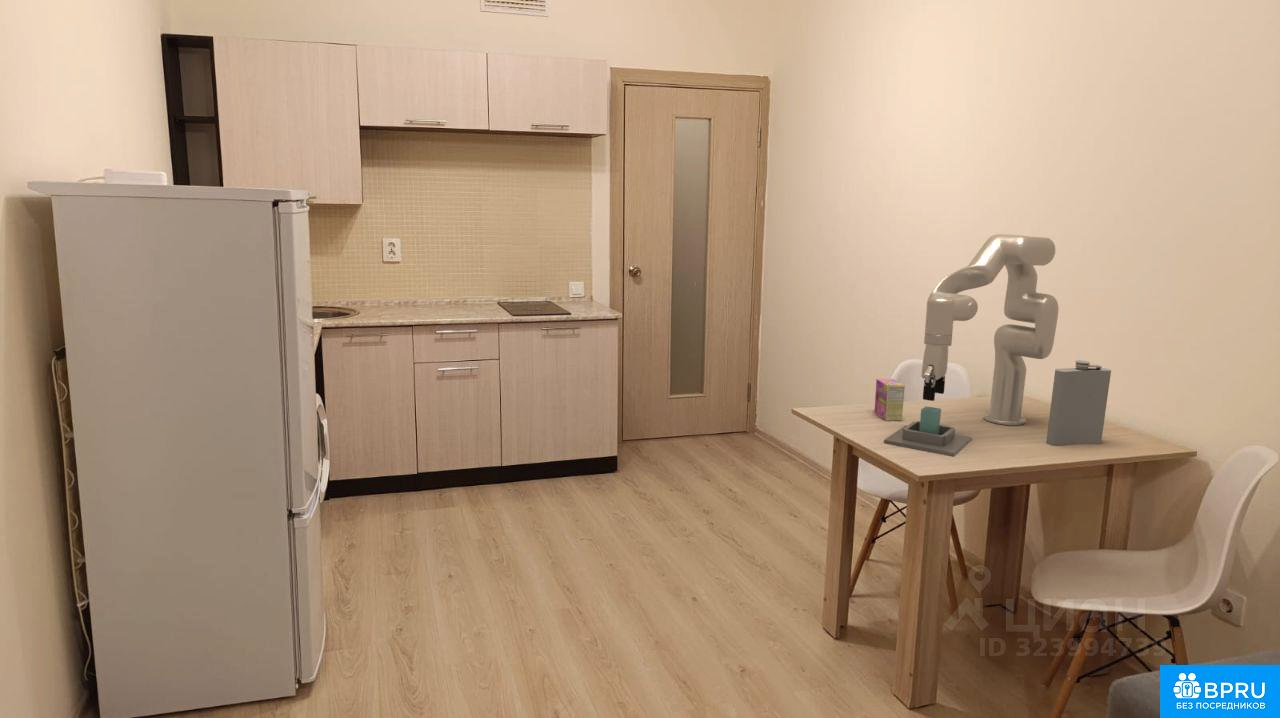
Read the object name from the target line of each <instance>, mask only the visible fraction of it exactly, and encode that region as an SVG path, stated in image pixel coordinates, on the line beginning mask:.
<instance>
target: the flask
mask: <svg viewBox="0 0 1280 718" xmlns="http://www.w3.org/2000/svg"><path fill="white" fill-rule="evenodd" d="M1074 363H1075V366H1074V367H1067V368H1066V367H1063V368H1055V370H1054V376H1053V377H1054V378H1053V383H1052V384H1053V385H1052V386H1053V387H1052V393H1051V399H1050V400H1051V402H1050V409H1049V418H1048V426H1047V432H1046V440H1045V443H1046V444H1047V445H1049V446H1052V447H1053V446H1054V447H1059V446H1069V445H1101V444H1102V439H1103V431H1104V425H1105V417H1106V411H1107V403H1108V398H1109V397H1108V396H1109V388H1110V383H1111V376H1112V375H1111V373H1112V370H1111V369H1109V368H1104V367H1102V366H1101V365H1099V364H1091V363H1090V361H1087V360H1082V359H1081V360H1079V359H1078V360H1075V362H1074Z"/></svg>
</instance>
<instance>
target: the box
mask: <svg viewBox="0 0 1280 718" xmlns="http://www.w3.org/2000/svg"><path fill="white" fill-rule="evenodd" d="M874 397H875V398H874V412H875V413H874V414H876V415H878V417H880V418H881V419H883V420H884V421H885V422H887V421H888V422H889V421H890V422H891V421H893V422H894V421H895V422H896V421H903V411H904V398H905V385H904V384H903V383H900V382H899V381H897V380H895V379H894V378H876V381H875V395H874Z"/></svg>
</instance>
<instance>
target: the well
mask: <svg viewBox="0 0 1280 718" xmlns="http://www.w3.org/2000/svg"><path fill="white" fill-rule="evenodd" d="M919 428H920V420H919V421H918V420H915V421H912V422H910V423H909V424H906V425H903V426H902V427H901V428H899V429H897V430H896V431H894V432H893V433H892V434H889V436H888V437H886V438H884V440H883V444H886V445H892V446H897V447H903V448H908V449H914V450H918V451H924V452H929V453H933V454H938V455H943V454H944V455H945V456H948V455H949V456H950V457H955V456H956V455H957V454H958V453H960V452H961V450H962V449H964V448H965V447H966V446H967V445H968V444H969V443H970V442H972V440H973V436H969V435H963V434H957V433H956V428H955V427H954V426H948V425H943V424H940V427H939V435H936V434H931V433H925V432H919ZM965 445H966V446H965ZM964 446H965V447H964Z"/></svg>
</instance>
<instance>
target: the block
mask: <svg viewBox="0 0 1280 718" xmlns="http://www.w3.org/2000/svg"><path fill="white" fill-rule="evenodd" d="M941 414H942V408H940V407H932V406H924V407H923V408H921V409H920V418H919V421H920V428H919V432H925V433H931V434H936V435H939V427H940V425H941V416H942V415H941Z"/></svg>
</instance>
